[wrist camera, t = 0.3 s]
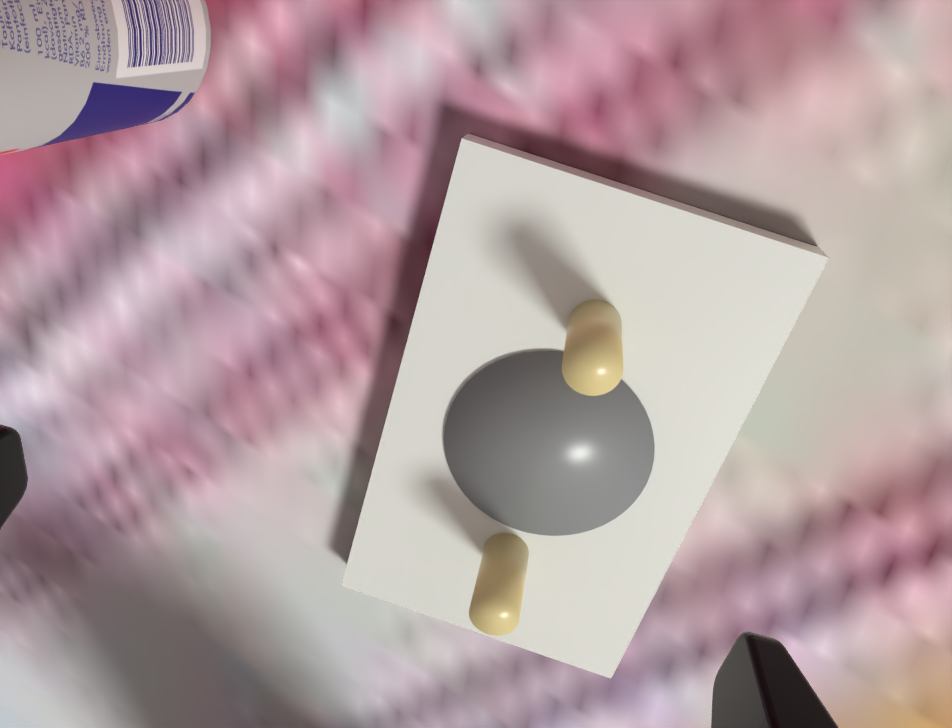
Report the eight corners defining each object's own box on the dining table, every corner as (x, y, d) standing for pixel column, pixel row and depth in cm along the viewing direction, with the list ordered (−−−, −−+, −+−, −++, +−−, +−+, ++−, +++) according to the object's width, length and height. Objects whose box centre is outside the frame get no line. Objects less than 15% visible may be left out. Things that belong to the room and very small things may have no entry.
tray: (611, 656, 27) (611, 752, 24) (349, 567, 28) (310, 649, 24) (819, 247, 20) (863, 295, 17) (467, 133, 21) (438, 156, 17)
